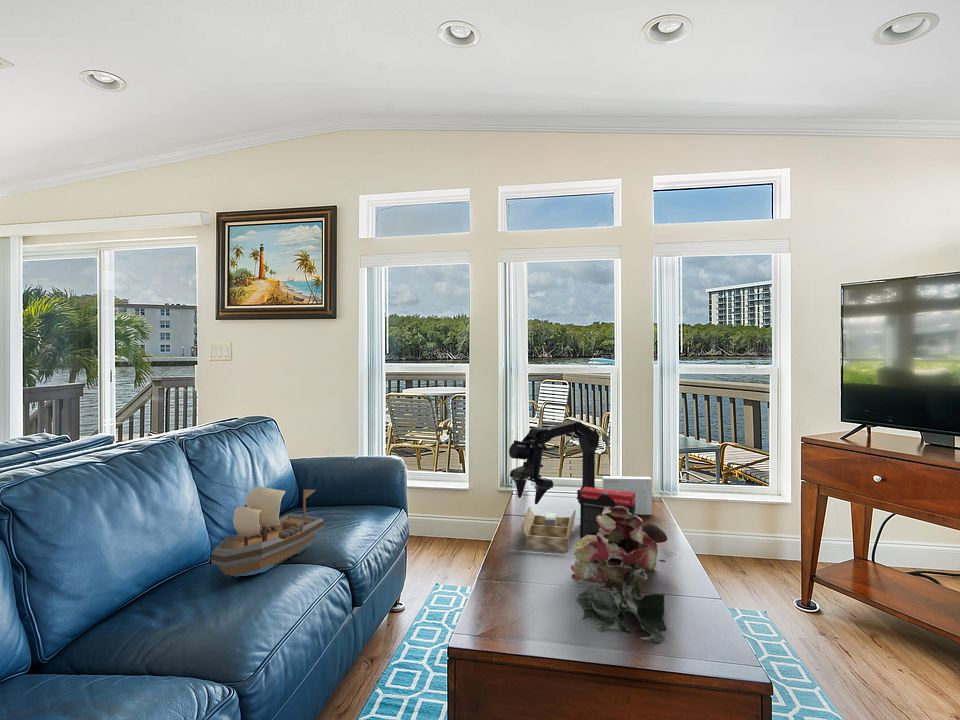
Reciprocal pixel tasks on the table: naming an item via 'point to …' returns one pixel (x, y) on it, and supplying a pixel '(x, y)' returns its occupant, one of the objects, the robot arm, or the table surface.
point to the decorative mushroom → (654, 535)
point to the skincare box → (633, 490)
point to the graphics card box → (601, 507)
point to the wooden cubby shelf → (547, 532)
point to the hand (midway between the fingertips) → (527, 500)
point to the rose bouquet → (618, 574)
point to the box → (551, 519)
